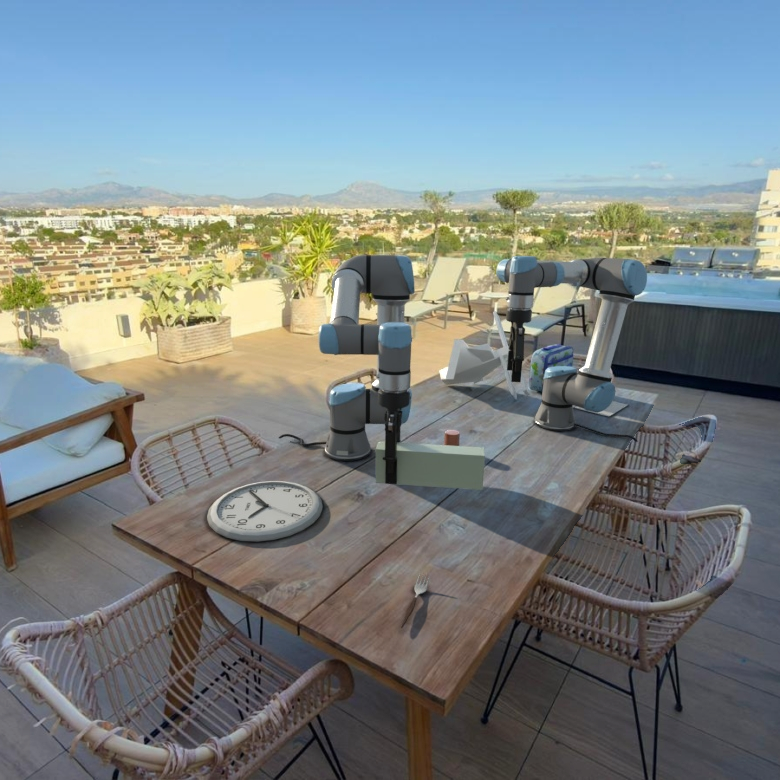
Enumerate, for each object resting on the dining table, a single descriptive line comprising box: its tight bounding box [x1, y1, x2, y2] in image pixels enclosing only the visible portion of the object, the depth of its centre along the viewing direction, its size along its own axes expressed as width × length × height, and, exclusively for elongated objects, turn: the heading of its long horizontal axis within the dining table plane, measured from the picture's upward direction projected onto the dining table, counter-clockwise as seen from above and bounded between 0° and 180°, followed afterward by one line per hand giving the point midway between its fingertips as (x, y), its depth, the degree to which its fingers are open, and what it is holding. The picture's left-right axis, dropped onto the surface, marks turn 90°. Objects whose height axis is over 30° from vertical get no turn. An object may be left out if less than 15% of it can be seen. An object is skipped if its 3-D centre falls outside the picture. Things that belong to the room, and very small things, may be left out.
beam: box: [375, 440, 486, 491], centre depth 128 cm, size 26×5×9 cm, turn 83°
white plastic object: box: [438, 310, 531, 400], centre depth 245 cm, size 37×45×31 cm
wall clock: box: [206, 480, 324, 543], centre depth 140 cm, size 30×2×30 cm
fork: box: [400, 570, 431, 629], centre depth 106 cm, size 3×16×2 cm, turn 160°
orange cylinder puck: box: [443, 429, 461, 446], centre depth 180 cm, size 5×5×6 cm
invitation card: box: [573, 400, 629, 418], centre depth 226 cm, size 21×1×15 cm
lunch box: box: [528, 344, 574, 393], centre depth 247 cm, size 26×11×21 cm, turn 134°
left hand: (392, 477), depth 130 cm, fingers closed on beam, 5 cm apart
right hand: (513, 375), depth 165 cm, fingers open, 13 cm apart
